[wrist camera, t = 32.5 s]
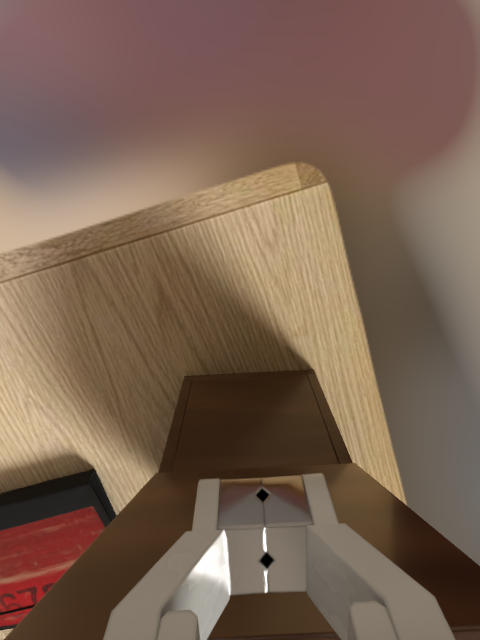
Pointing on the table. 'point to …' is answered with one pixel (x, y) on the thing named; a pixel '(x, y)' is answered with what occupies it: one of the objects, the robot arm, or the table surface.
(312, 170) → the table surface
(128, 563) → the chest lid
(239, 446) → the chest
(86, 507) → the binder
